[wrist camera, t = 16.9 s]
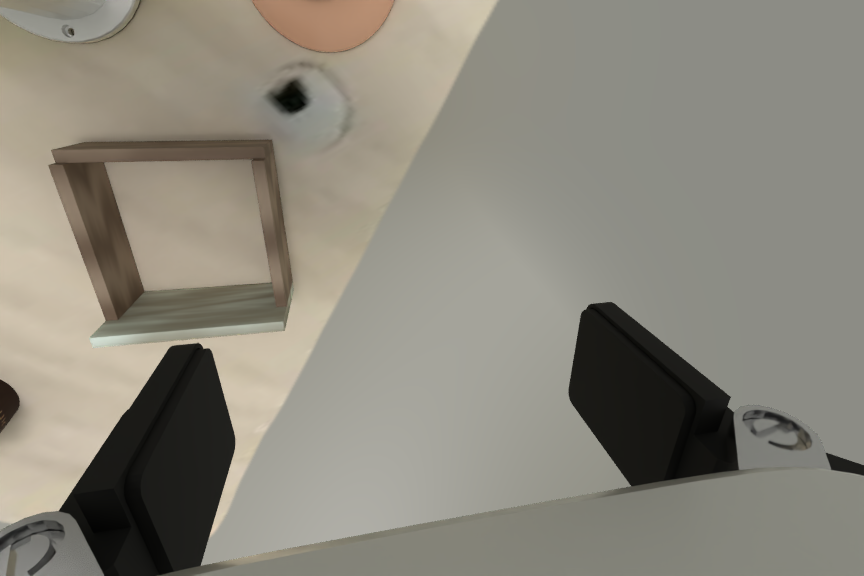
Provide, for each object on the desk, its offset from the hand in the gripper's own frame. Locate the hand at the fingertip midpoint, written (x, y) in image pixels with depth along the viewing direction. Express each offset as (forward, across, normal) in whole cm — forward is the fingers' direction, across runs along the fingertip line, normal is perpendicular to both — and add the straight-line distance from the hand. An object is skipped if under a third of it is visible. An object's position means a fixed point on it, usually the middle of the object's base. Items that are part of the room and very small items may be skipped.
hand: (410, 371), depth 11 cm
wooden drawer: (+36, +16, +6) cm, 40 cm away
